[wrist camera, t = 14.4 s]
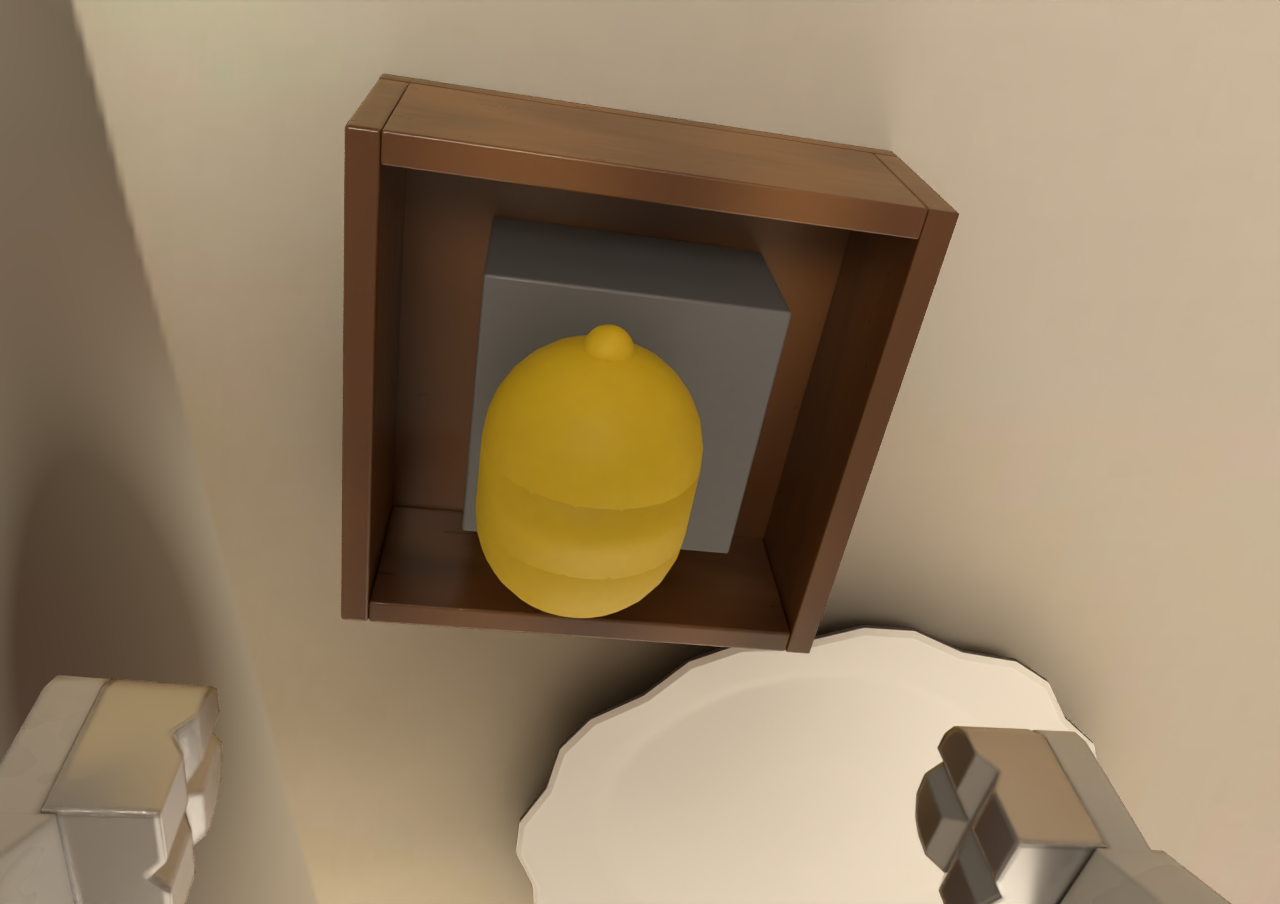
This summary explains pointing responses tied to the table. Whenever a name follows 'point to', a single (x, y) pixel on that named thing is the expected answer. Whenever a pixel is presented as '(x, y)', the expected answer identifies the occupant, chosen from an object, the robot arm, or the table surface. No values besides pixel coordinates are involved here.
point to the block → (641, 337)
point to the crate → (638, 205)
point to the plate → (770, 775)
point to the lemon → (587, 474)
